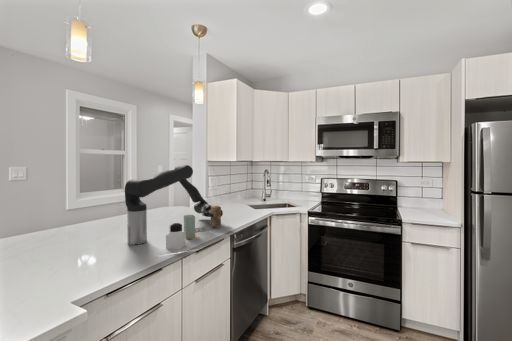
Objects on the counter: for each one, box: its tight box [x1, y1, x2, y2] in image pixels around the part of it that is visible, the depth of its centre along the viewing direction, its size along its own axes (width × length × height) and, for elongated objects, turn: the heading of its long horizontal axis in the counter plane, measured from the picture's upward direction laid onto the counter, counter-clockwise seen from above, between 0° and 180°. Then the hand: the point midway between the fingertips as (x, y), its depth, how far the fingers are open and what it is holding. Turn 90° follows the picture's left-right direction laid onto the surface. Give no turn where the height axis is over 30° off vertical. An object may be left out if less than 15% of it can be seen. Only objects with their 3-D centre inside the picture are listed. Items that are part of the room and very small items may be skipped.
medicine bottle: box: [165, 222, 186, 250], centre depth 128 cm, size 7×7×12 cm
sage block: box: [183, 214, 196, 239], centre depth 143 cm, size 5×5×12 cm
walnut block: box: [210, 205, 222, 228], centre depth 163 cm, size 5×5×12 cm
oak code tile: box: [185, 233, 201, 242], centre depth 143 cm, size 10×10×1 cm
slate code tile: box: [195, 226, 210, 234], centre depth 158 cm, size 10×10×1 cm
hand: (217, 215), depth 161 cm, fingers closed on walnut block, 5 cm apart
